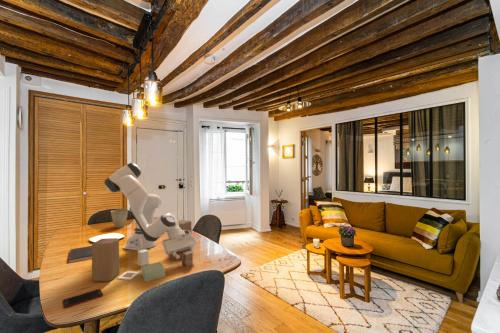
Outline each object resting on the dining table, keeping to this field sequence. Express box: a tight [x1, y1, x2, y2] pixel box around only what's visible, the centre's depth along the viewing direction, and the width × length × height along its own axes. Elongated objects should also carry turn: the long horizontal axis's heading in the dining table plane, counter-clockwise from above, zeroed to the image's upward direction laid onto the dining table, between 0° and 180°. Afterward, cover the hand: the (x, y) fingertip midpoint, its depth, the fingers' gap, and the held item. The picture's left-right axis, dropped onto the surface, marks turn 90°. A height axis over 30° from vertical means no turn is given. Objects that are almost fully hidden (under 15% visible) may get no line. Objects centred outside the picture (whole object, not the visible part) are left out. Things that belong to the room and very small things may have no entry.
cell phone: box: [62, 288, 104, 309], centre depth 110 cm, size 8×15×1 cm, turn 131°
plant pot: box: [110, 208, 129, 229], centre depth 235 cm, size 15×15×16 cm
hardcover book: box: [67, 245, 92, 264], centre depth 164 cm, size 16×23×2 cm
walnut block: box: [181, 250, 194, 269], centre depth 145 cm, size 4×4×8 cm
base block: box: [140, 261, 166, 283], centre depth 133 cm, size 10×10×5 cm
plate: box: [88, 232, 126, 243], centre depth 197 cm, size 23×23×2 cm
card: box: [116, 270, 141, 281], centre depth 132 cm, size 8×8×1 cm
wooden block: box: [91, 238, 120, 283], centre depth 131 cm, size 10×10×20 cm
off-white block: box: [137, 249, 150, 266], centre depth 148 cm, size 4×4×8 cm
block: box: [177, 219, 192, 253], centre depth 172 cm, size 10×10×20 cm
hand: (185, 256), depth 145 cm, fingers open, 8 cm apart
